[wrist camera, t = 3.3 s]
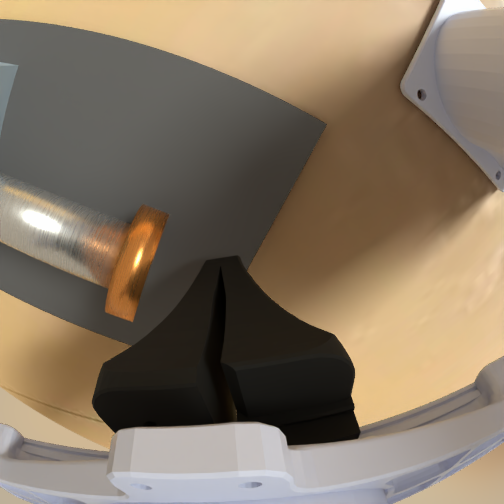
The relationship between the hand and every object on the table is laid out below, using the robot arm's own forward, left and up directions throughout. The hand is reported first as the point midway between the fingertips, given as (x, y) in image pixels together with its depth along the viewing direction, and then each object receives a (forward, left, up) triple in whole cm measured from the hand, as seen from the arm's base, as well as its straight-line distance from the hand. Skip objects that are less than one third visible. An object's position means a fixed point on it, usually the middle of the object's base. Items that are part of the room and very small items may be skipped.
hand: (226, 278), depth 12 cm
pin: (+9, 0, -1) cm, 9 cm away
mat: (+9, 0, -2) cm, 9 cm away
